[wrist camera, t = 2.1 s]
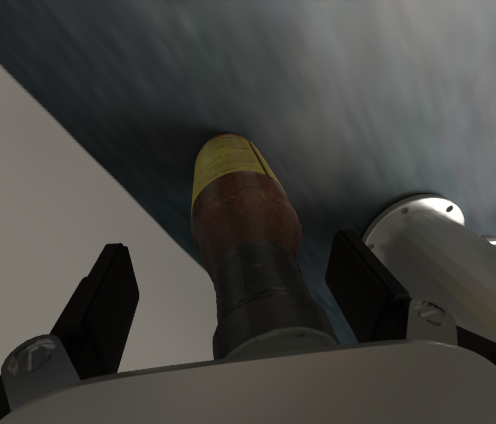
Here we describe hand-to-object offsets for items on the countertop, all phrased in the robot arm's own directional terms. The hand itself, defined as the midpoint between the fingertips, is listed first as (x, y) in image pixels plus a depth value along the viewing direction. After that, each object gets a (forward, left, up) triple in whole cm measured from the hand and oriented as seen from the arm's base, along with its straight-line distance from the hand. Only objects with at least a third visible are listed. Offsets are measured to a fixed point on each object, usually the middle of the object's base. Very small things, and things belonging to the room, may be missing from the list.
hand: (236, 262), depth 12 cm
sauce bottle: (-1, 0, -15) cm, 15 cm away
